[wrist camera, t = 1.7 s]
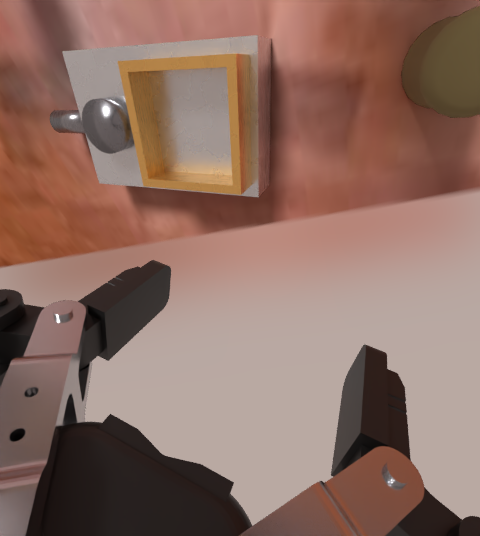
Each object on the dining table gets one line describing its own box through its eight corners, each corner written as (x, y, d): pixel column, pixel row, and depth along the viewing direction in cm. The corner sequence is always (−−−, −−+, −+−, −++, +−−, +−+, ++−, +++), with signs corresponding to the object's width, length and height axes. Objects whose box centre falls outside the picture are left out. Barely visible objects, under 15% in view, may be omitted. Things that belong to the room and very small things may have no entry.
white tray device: (56, 55, 35) (-3, 53, 29) (271, 38, 27) (244, 31, 22) (90, 171, 42) (47, 187, 36) (269, 185, 34) (248, 208, 29)
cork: (385, 86, 26) (389, 97, 18) (440, -1, 22) (481, -43, 14) (448, 122, 26) (484, 150, 17) (515, 39, 22) (604, 22, 14)
